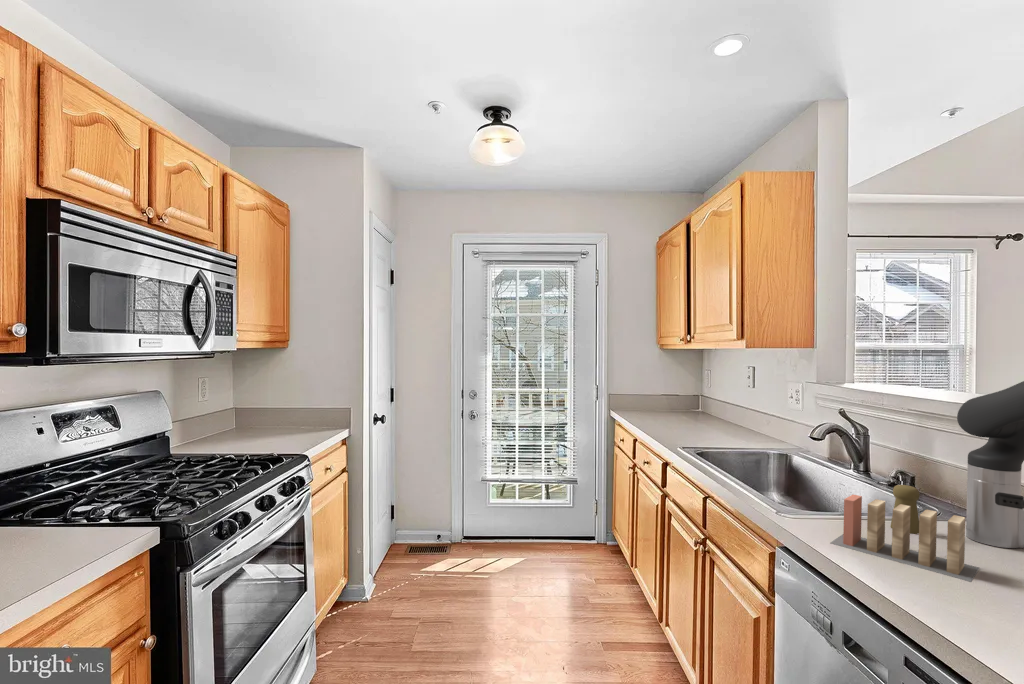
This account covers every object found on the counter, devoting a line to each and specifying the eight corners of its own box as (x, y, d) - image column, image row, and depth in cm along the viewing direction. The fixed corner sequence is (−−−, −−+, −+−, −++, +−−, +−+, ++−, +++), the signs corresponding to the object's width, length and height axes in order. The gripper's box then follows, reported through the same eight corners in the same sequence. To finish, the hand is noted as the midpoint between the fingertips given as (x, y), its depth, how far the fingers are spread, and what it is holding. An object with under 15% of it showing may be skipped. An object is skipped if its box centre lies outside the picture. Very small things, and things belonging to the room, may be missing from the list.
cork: (926, 536, 123) (927, 490, 123) (897, 534, 124) (898, 488, 124) (912, 527, 129) (913, 483, 129) (885, 525, 130) (885, 481, 130)
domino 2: (884, 546, 116) (885, 501, 116) (876, 552, 112) (877, 506, 112) (874, 543, 117) (875, 499, 117) (866, 550, 113) (867, 504, 113)
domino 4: (936, 559, 109) (937, 511, 109) (929, 567, 105) (930, 517, 105) (925, 556, 110) (926, 509, 110) (918, 564, 106) (919, 515, 106)
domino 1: (861, 539, 119) (861, 496, 119) (852, 546, 115) (853, 501, 115) (851, 537, 120) (852, 494, 120) (843, 543, 116) (844, 499, 116)
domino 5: (964, 566, 105) (965, 517, 105) (958, 574, 101) (959, 523, 101) (952, 563, 107) (953, 515, 107) (946, 571, 103) (947, 521, 103)
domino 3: (909, 552, 112) (910, 506, 112) (902, 559, 108) (903, 511, 108) (899, 549, 114) (900, 504, 114) (891, 556, 110) (892, 509, 110)
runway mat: (979, 569, 105) (979, 567, 105) (970, 583, 99) (970, 581, 99) (844, 534, 123) (844, 533, 123) (829, 544, 117) (829, 543, 117)
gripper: (1135, 492, 91) (1000, 473, 104) (1138, 506, 82) (990, 483, 95) (1135, 535, 91) (1000, 511, 104) (1138, 553, 82) (990, 524, 95)
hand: (995, 498), depth 100 cm, fingers closed
